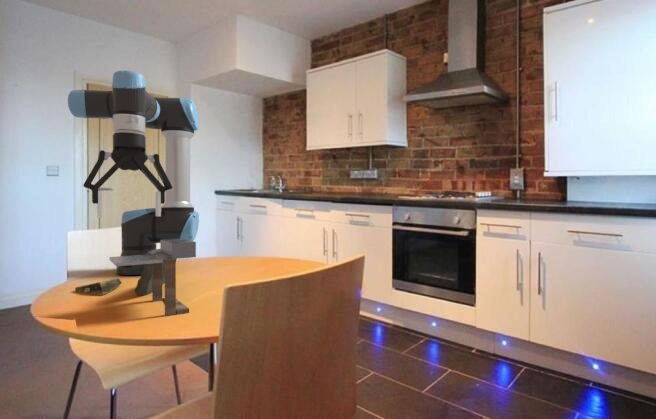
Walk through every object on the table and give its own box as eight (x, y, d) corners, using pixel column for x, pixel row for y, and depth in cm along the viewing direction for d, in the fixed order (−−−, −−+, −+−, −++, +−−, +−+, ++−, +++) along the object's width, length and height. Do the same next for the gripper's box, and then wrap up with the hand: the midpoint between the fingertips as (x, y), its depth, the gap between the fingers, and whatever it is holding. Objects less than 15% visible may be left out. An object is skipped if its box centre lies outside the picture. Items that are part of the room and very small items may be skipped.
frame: (152, 302, 114) (152, 253, 114) (173, 300, 117) (173, 252, 117) (165, 316, 100) (165, 260, 100) (189, 312, 104) (188, 258, 103)
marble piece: (157, 256, 114) (145, 250, 114) (137, 302, 115) (125, 296, 116) (184, 248, 131) (173, 243, 131) (166, 289, 132) (155, 283, 132)
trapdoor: (109, 260, 106) (109, 241, 106) (182, 255, 117) (182, 238, 117) (116, 266, 95) (116, 246, 95) (195, 260, 106) (195, 241, 106)
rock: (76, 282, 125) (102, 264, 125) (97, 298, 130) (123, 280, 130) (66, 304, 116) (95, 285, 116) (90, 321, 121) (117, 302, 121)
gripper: (72, 126, 93) (73, 218, 93) (183, 136, 107) (183, 216, 107) (71, 131, 99) (71, 217, 99) (176, 140, 113) (176, 215, 113)
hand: (130, 216), depth 103 cm, fingers open, 13 cm apart
